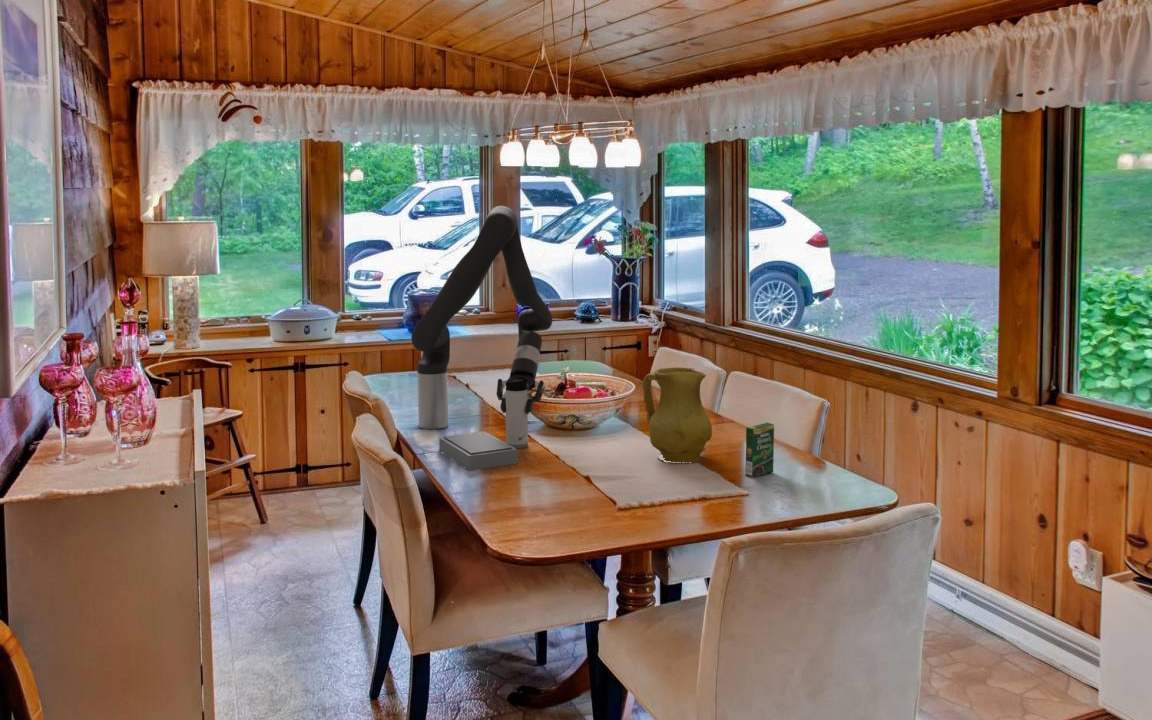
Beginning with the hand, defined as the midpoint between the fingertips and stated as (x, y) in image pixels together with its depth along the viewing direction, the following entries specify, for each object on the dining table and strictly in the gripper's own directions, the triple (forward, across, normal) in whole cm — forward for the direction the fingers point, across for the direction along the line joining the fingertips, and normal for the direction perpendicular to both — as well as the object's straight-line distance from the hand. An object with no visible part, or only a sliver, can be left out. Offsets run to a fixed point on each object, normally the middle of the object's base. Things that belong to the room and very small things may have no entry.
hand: (515, 411), depth 281 cm
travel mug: (+6, 0, +9) cm, 11 cm away
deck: (+16, -8, -2) cm, 18 cm away
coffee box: (+17, +69, -2) cm, 71 cm away
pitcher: (+8, +47, +7) cm, 48 cm away
